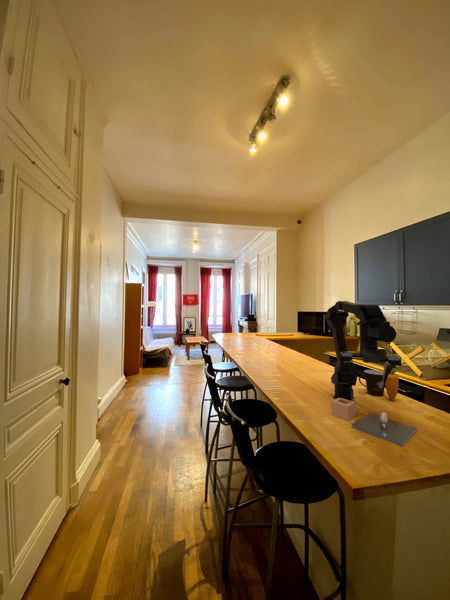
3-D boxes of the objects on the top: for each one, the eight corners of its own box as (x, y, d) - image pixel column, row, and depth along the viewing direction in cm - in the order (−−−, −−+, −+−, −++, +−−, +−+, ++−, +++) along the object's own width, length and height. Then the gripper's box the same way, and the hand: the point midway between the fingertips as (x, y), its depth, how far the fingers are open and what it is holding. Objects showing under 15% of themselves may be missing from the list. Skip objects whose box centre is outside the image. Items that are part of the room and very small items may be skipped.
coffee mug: (383, 392, 115) (383, 370, 115) (389, 398, 107) (388, 375, 107) (355, 389, 118) (355, 368, 119) (359, 395, 110) (359, 373, 111)
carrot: (382, 398, 106) (381, 364, 107) (392, 398, 106) (392, 364, 107) (390, 403, 101) (390, 366, 102) (402, 403, 101) (401, 366, 102)
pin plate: (351, 427, 80) (351, 410, 80) (369, 416, 89) (368, 400, 89) (402, 446, 69) (402, 426, 69) (416, 431, 78) (416, 413, 78)
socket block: (331, 414, 89) (331, 401, 90) (339, 410, 93) (339, 397, 93) (348, 420, 85) (348, 406, 85) (355, 416, 88) (355, 402, 89)
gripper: (340, 339, 85) (340, 384, 84) (405, 343, 77) (406, 393, 76) (340, 336, 95) (340, 376, 95) (397, 339, 87) (398, 383, 87)
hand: (369, 382), depth 88 cm, fingers open, 9 cm apart
